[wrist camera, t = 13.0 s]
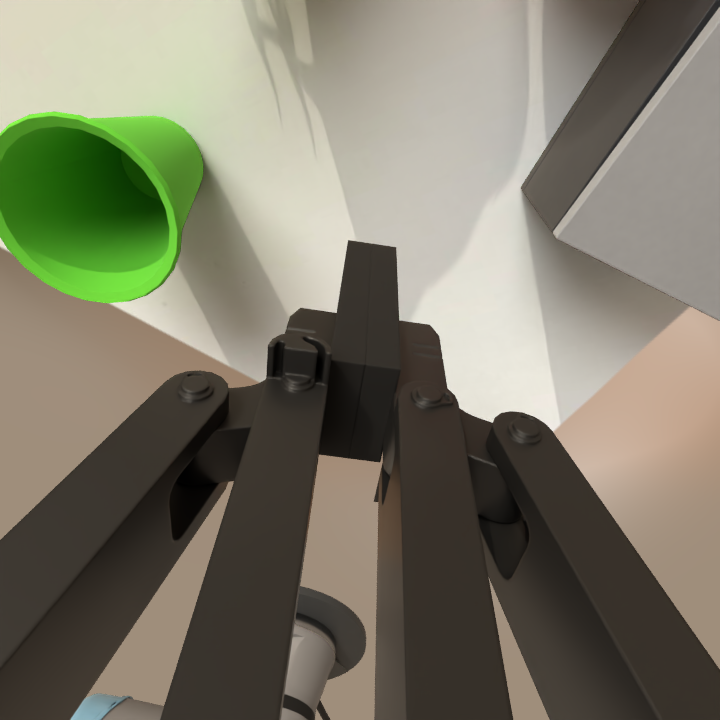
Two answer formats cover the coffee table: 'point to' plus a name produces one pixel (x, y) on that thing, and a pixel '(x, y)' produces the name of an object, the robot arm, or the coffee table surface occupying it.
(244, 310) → the coffee table surface
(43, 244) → the cup
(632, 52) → the grey lidded box
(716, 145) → the lid
